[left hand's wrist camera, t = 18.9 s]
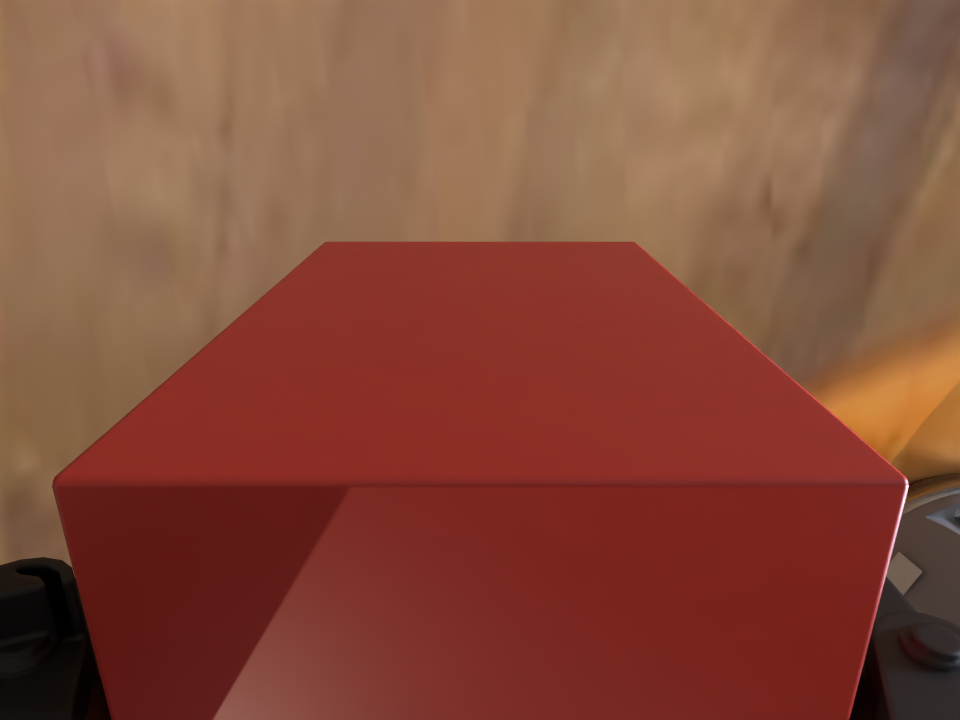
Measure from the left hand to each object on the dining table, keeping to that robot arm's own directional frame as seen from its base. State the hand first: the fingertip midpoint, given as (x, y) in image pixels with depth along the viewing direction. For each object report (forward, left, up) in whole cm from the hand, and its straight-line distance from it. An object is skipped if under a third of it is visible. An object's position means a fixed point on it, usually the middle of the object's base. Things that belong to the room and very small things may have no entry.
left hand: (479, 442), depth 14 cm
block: (0, 0, -3) cm, 3 cm away
